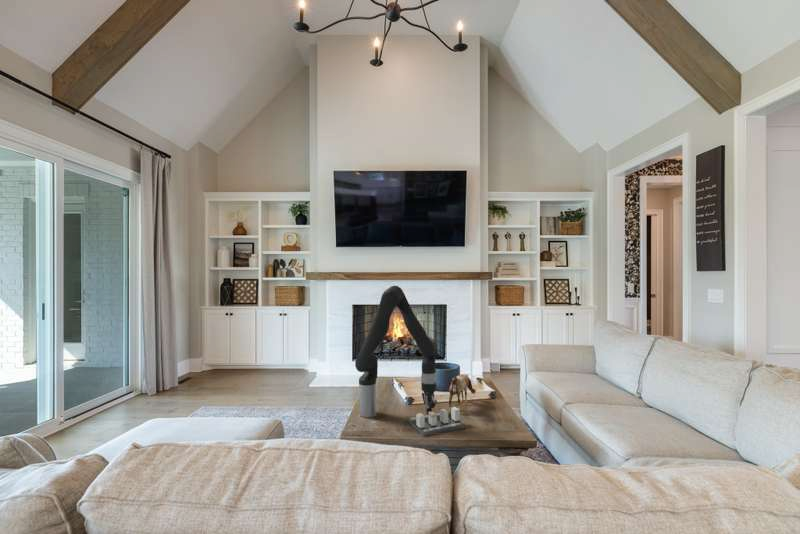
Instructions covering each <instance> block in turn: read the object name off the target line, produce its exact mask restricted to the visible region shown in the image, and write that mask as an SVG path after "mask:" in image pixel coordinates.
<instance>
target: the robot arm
mask: <svg viewBox="0 0 800 534" xmlns="http://www.w3.org/2000/svg"><path fill="white" fill-rule="evenodd" d="M396 307H397V308H398V310H399V311H400V314H401V316H402V318H403V322H404V325H405V328H406V330H407V332H408V333H409V334H410V336H411V337H412V339H413V340H414V342H415V343H416V345H417V347H418V349H419V351H420V352H421V356H422V357H421V358H422V361H421V379H420V381H421V387H420V388H421V391H422V393H421V397H422V400H423V404H424V405H425V407H426V415H428V412H430V411H433V409H434V408H435V407H436V405H437V402H438V401H437V399H435V392H436V391H437V366H436V351H437V348H436V347H437V346H436V344H435V342H434V341H433V340H431V339H430V338H429V337H428V335H427V332H426V330H425V329H424V327H423V326H422V324H421V323H420V321H419V320H418V318H417V317H416V314H415V313H414V311H413V308H412V307H411V305H410V303H409V301H408V299H407V297H406V294H405V292H404V291H403V289H402V288H401V287H400V286H399V285H392V286H390V287H388V288H387V289H385V290H384V291H383V293H382V295H381V298H380V302H379V304H378V309H377V311H376V313H375V315H374V318H373V319H372V322H371V325H370V328H369V330H368V332H367V335H366V338H365V339H364V342H363V344H362V346H361V348H360V349H359V350H360V351H359V352H358V354H357V356H356V357H355V363H354V364H355V369H356V371H358V372H359V373H363V374H362V375H361V376H360V377H359V378H358V390H359V391H358V394H359V396H358V397H359V398H358V399H359V401H358V403H359V416H360V417H361V418H366V419H367V418H368V419H369V418H373V417H375V416H377V415H378V414H377V413H378V412H377V411H378V410H377V408H378V407H377V406H378V405H377V402H378V401H377V380H378V372H379V371H378V368H379V365H378V364H379V363H378V362H379V361H378V357H377V355H376V354H375V353H374V352H375V351H376V350H377V348H378V347H379V346H381V344H382V343H383V342H384V340H385V339H386V337H387V334H388V333H389V332H388V331H389V329H390V323H391V321H390V319H391V316H392V314H393V312H394V310H395V309H396Z"/></svg>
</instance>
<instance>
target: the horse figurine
mask: <svg viewBox="0 0 800 534" xmlns="http://www.w3.org/2000/svg"><path fill="white" fill-rule="evenodd" d="M467 389H468V390H469V391H470V393H471V394H473V395H475V393H476V391H477V390H476V389H474V387H473V385H472V381H471V379H470V378H469V377H468V376H466V375H465V374H464V375H463V374H458V375H456V376H454V377H453V378H452V379H451V384H450V386H449V389H448V391H449V397H448V403H449V404H448V413H449V414H451V408H452V407H451V405H452V399H453V397H454V396H455V395H456V397H457V403H458V407H457V408H458V409H459V410H460V411H461V403H464V406H468V401H467V400H468V399H467V397H468V396H467V394H468V391H467ZM460 396H461V399H460ZM460 402H461V403H460Z"/></svg>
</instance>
